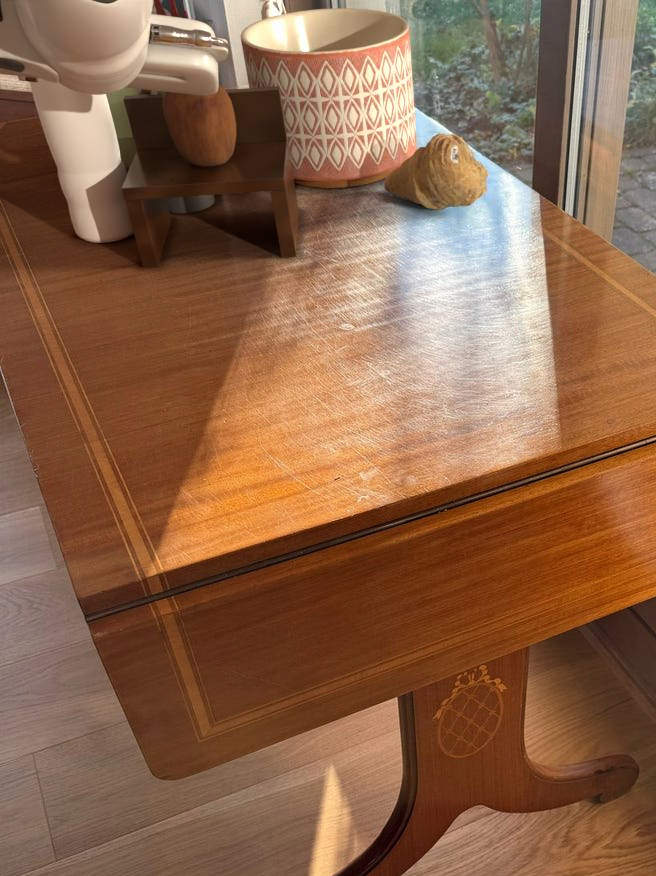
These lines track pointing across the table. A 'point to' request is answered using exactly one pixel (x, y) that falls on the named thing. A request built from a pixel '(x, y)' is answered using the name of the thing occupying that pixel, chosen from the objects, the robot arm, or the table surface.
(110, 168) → the water bottle
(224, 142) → the wooden figurine
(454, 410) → the table surface
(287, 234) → the miniature wooden bench
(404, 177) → the seashell
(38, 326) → the table surface
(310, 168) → the planter
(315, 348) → the table surface
